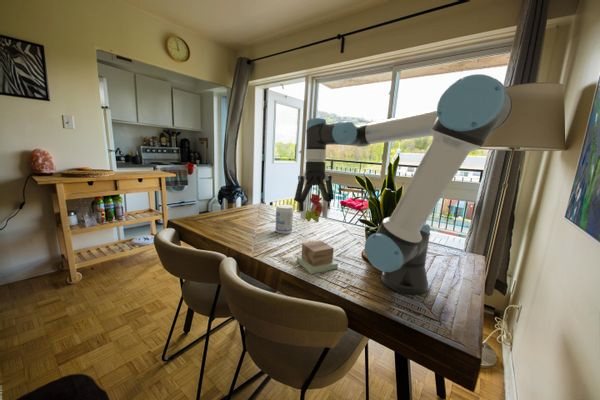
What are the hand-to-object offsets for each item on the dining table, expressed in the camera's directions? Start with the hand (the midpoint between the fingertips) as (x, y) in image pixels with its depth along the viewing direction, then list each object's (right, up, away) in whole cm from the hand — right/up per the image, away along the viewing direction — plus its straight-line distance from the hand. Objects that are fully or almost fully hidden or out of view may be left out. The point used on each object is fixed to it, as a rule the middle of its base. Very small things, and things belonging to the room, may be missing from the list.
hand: (314, 218), depth 97 cm
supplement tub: (-15, -11, +41) cm, 45 cm away
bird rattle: (0, -1, 0) cm, 1 cm away
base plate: (+1, -19, +1) cm, 19 cm away
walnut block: (+1, -17, +1) cm, 17 cm away
